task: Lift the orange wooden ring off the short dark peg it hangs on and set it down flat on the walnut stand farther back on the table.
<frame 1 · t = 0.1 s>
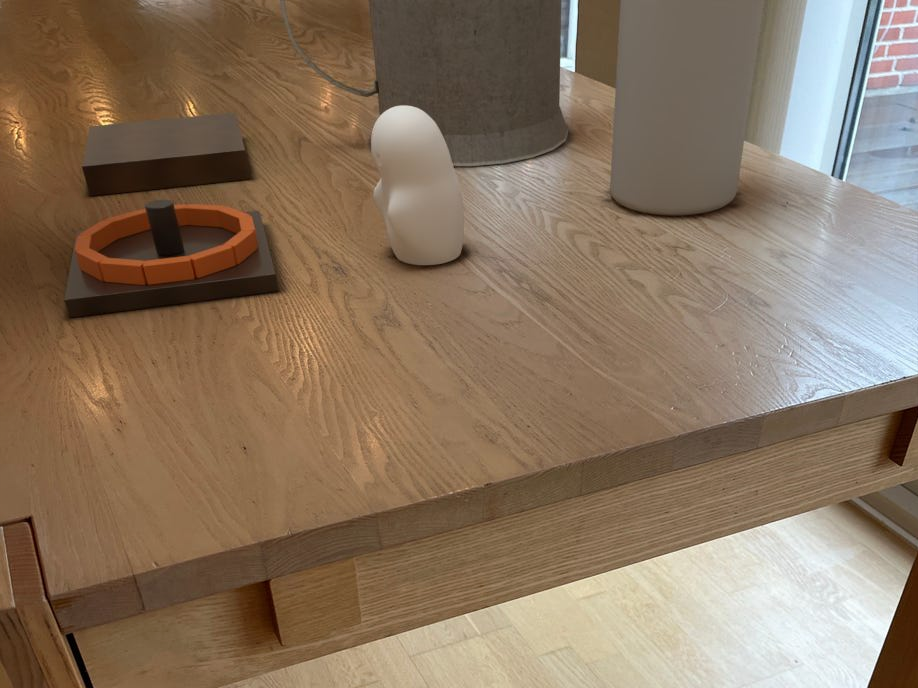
pitcher: (435, 141, 114), on the table, touching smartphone
stand: (170, 166, 109), on the table
peg stand: (174, 268, 85), on the table
cylinder vase: (671, 199, 95), on the table
figurine: (423, 255, 86), on the table
ring: (170, 251, 84), point 1 cm above the table, touching peg stand
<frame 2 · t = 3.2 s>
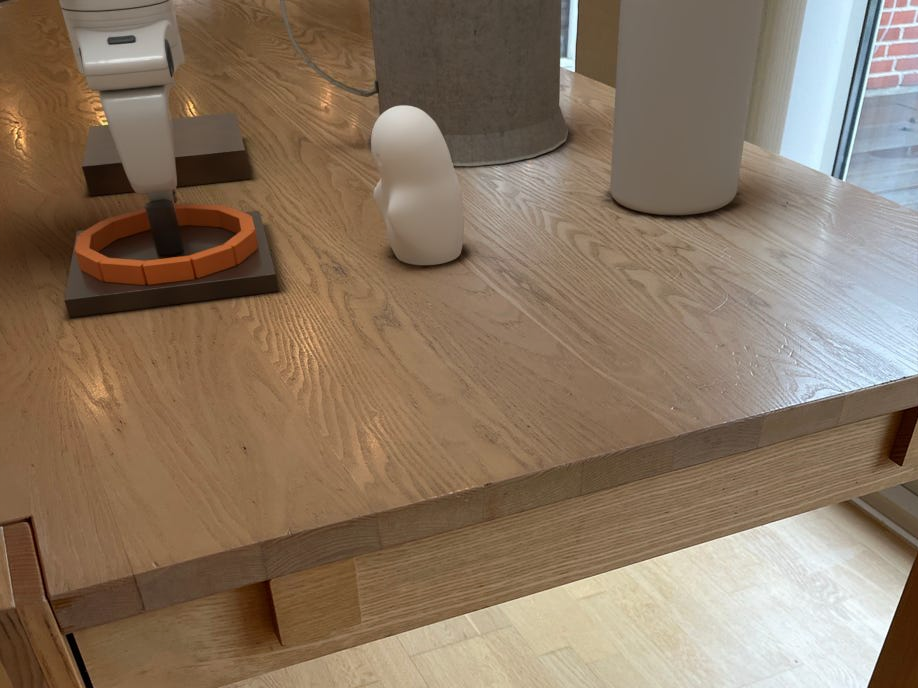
hand: (169, 215, 89), 2 cm above the table, tool pointing down, fingers open, 7 cm apart
nothing on the table moved.
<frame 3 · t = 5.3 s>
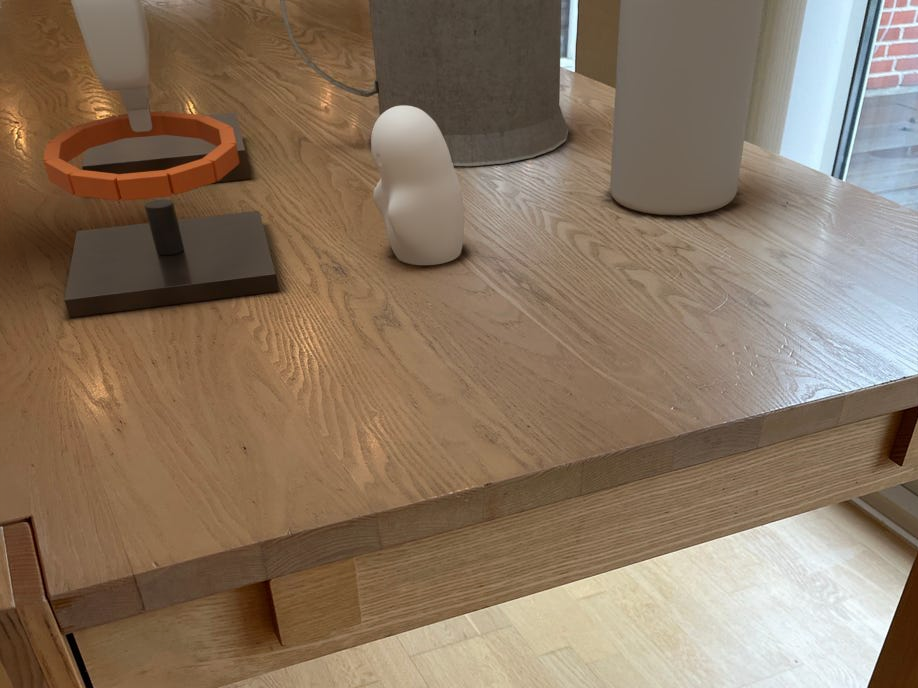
hand: (143, 126, 83), 10 cm above the table, tool pointing down, fingers closed on ring
ring: (145, 163, 79), point 9 cm above the table, touching gripper
everything else where it was.
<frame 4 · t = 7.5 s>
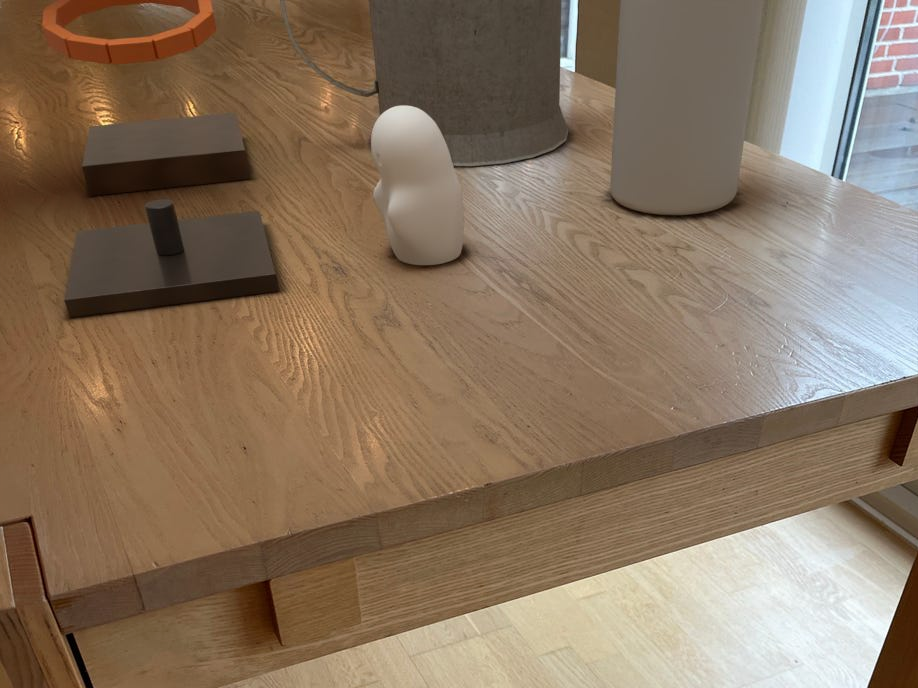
ring: (133, 30, 89), point 15 cm above the table, tilted 11°, touching gripper
everything else where it was.
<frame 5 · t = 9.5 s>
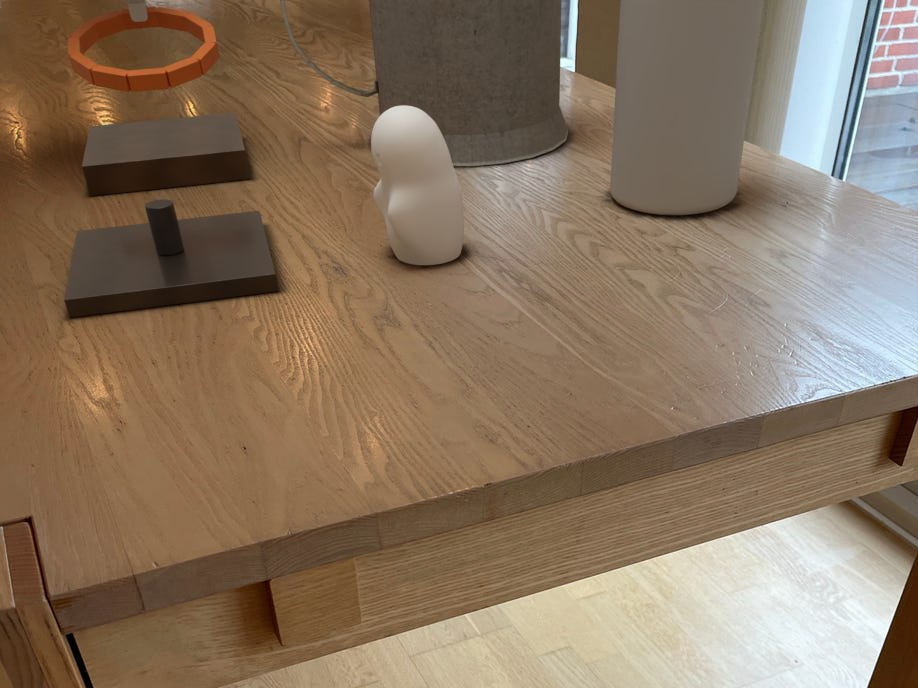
hand: (140, 18, 105), 13 cm above the table, tool pointing down, fingers closed on ring
ring: (146, 55, 102), point 11 cm above the table, tilted 14°, touching gripper
everything else where it was.
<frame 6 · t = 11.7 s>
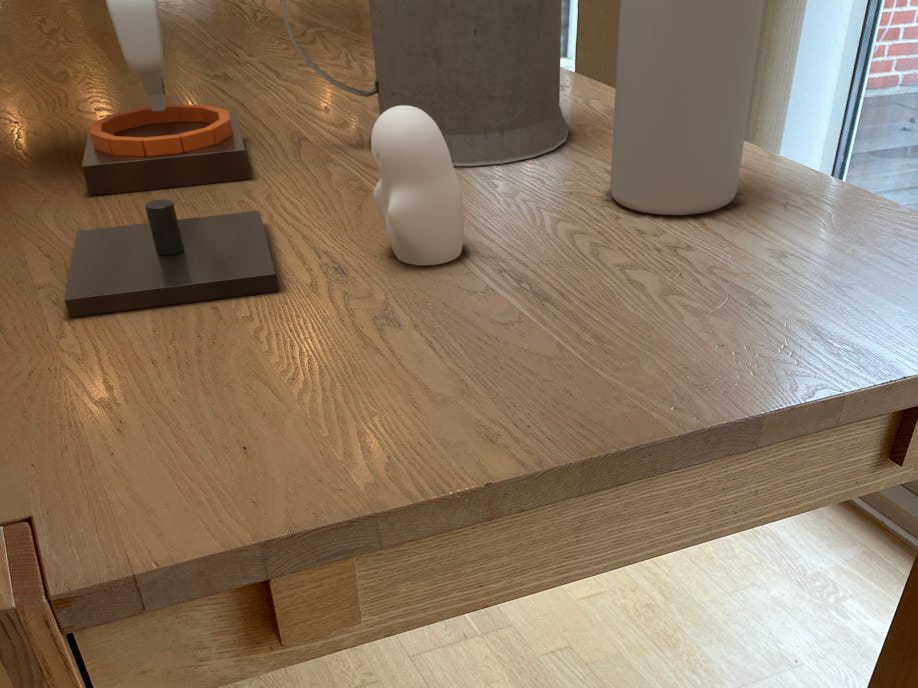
hand: (158, 102, 111), 5 cm above the table, tool pointing down, fingers open, 6 cm apart
ring: (164, 136, 107), point 3 cm above the table, touching stand
everything else where it was.
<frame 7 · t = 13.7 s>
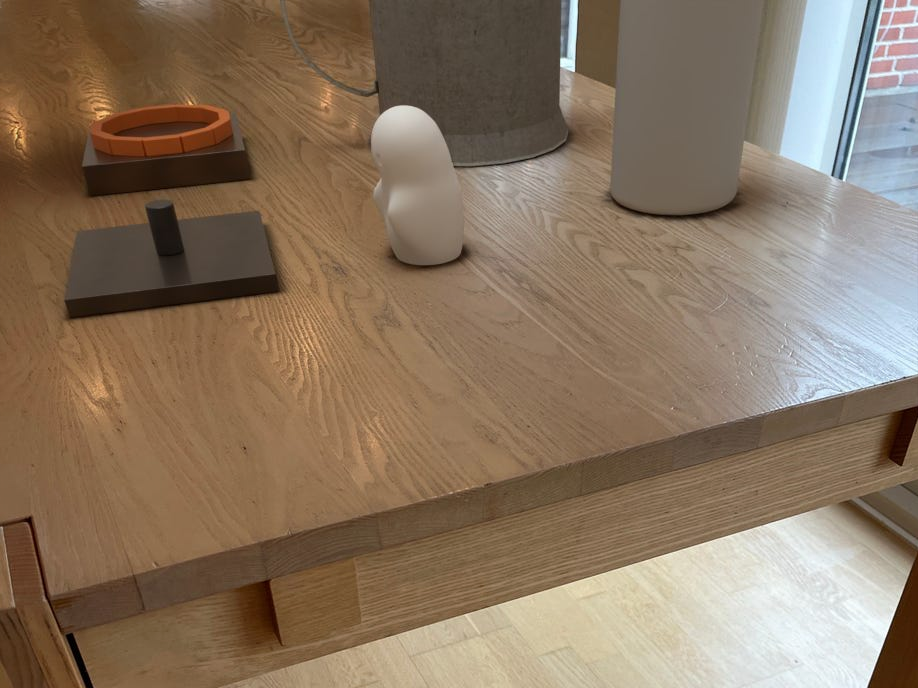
nothing on the table moved.
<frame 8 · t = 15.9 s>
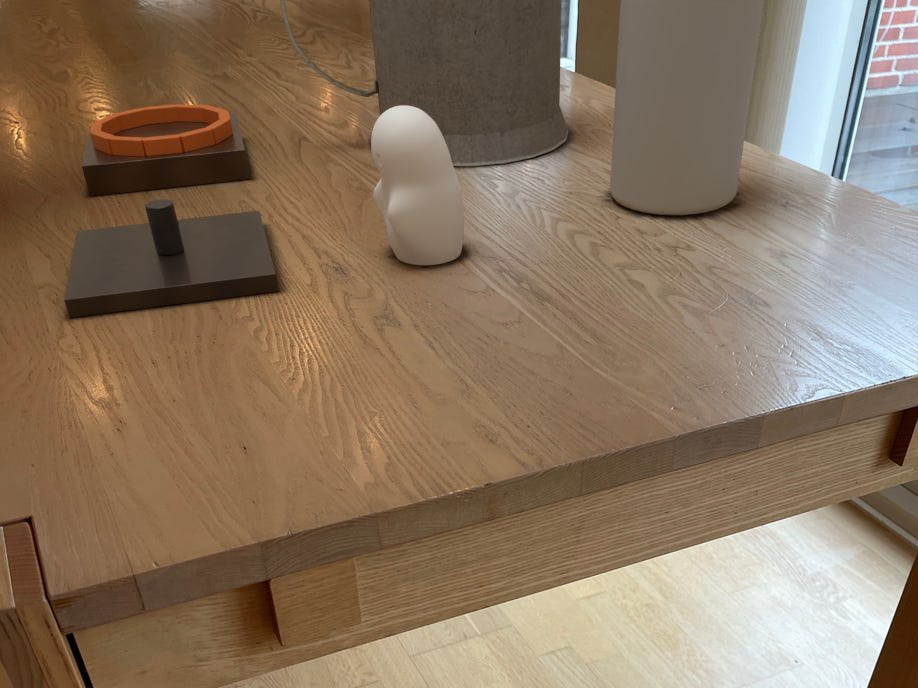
nothing on the table moved.
at the end: ring inside the target area on the stand (0.2 cm from its centre), point 3.0 cm above the stand's base; ring tilted 0°; the gripper is holding nothing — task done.
